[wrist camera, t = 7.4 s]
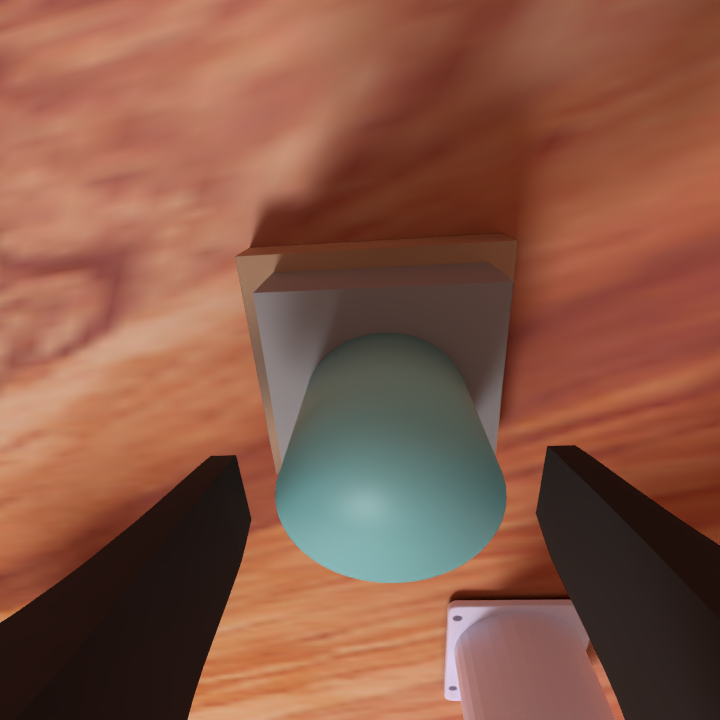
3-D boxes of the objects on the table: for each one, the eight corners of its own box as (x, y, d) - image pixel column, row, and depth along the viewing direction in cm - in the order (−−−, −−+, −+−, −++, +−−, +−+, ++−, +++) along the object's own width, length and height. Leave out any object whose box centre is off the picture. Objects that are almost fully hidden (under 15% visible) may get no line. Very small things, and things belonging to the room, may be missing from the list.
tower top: (474, 441, 16) (491, 486, 14) (298, 445, 16) (286, 489, 14) (488, 262, 13) (514, 281, 11) (273, 272, 13) (252, 292, 11)
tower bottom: (480, 432, 19) (494, 468, 16) (287, 438, 19) (276, 473, 17) (495, 230, 15) (517, 240, 13) (255, 243, 15) (235, 256, 13)
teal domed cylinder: (459, 473, 13) (490, 586, 10) (310, 470, 14) (285, 580, 10) (477, 333, 11) (523, 410, 8) (299, 332, 11) (262, 407, 8)
